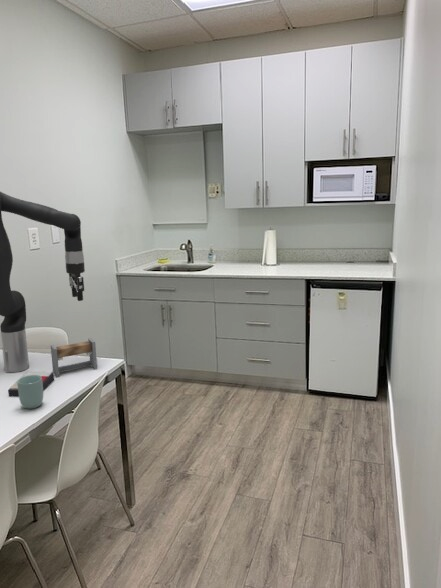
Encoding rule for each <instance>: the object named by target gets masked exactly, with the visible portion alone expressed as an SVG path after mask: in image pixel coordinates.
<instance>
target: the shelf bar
mask: <svg viewBox="0 0 441 588" xmlns="http://www.w3.org/2000/svg"><path fill="white" fill-rule="evenodd" d="M55 347H56V348H57V355H58V358H66V357H71V356H78V355H82V354H87V353H88V352H91V344H90V343H89V342H88V340H87V341H83V342H77V343H72V344H71V343H70V344H65V345H59V346H55Z"/></svg>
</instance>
